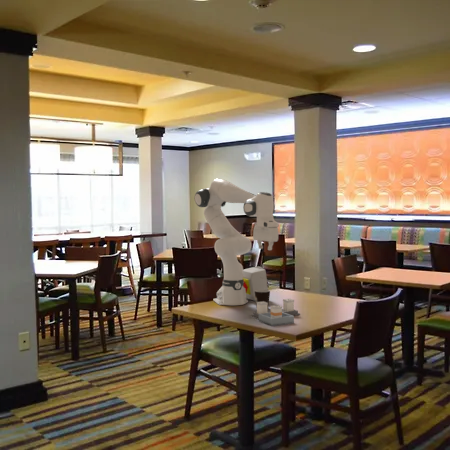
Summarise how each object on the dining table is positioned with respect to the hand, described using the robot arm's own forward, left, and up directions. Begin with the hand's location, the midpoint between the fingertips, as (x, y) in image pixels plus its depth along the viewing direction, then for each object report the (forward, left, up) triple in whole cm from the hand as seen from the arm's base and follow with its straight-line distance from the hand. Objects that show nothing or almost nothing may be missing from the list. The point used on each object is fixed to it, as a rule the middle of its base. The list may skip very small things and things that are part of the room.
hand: (265, 249), depth 279 cm
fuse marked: (+19, -5, -33) cm, 39 cm away
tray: (+19, -5, -34) cm, 39 cm away
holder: (+7, +2, -34) cm, 35 cm away
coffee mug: (-13, +6, -34) cm, 37 cm away
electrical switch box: (-39, +13, -34) cm, 54 cm away
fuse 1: (+7, -6, -33) cm, 35 cm away
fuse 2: (+7, +10, -33) cm, 35 cm away
